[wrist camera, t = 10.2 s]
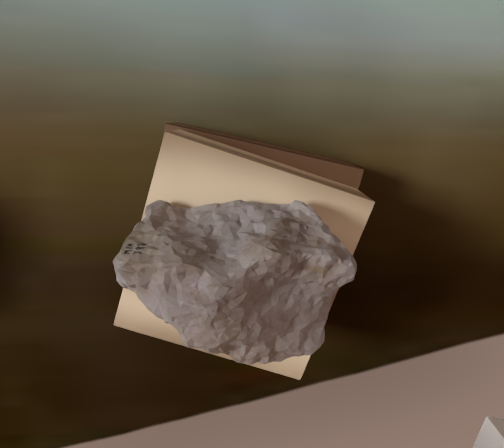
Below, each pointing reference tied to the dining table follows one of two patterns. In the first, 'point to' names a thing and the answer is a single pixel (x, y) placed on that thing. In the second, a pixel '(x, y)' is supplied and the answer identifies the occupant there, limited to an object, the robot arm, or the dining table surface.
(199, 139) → the tower top
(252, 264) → the stone
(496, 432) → the robot arm
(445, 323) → the dining table surface
